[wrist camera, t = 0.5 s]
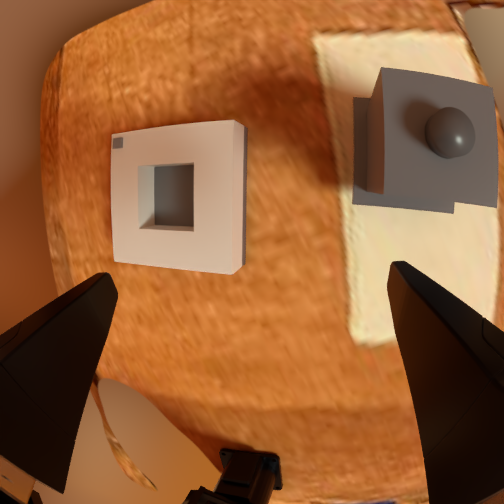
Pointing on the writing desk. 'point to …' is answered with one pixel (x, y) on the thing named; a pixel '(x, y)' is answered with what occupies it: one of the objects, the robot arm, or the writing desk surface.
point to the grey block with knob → (425, 143)
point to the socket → (180, 196)
